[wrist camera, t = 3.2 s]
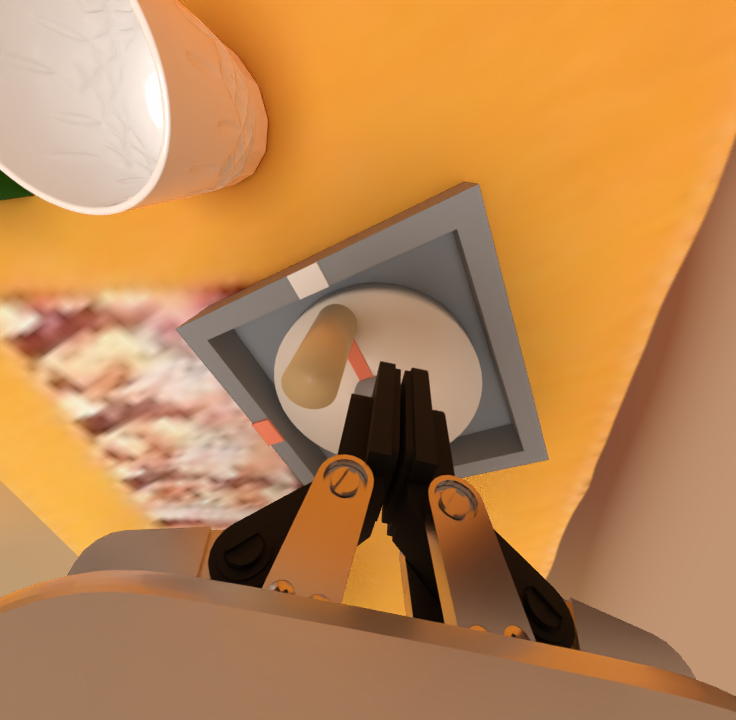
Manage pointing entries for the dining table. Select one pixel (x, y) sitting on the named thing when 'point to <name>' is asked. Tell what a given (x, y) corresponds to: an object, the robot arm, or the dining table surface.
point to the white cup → (122, 104)
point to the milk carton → (11, 188)
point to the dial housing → (397, 267)
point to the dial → (373, 357)
